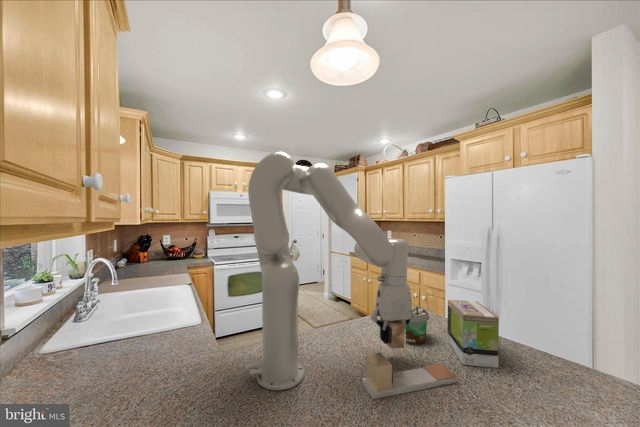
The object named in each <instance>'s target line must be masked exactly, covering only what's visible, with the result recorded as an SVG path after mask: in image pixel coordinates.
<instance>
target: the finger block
mask: <svg viewBox="0 0 640 427" xmlns="http://www.w3.org/2000/svg"><path fill="white" fill-rule="evenodd" d="M387 330H388V343H387V344H386V345H387V346H388V347H390V348H391V349H392V350H394V349H402V348H405V343H406V331H405V323H404V322H402V321H401V320H398V321H388V325H387Z"/></svg>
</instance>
